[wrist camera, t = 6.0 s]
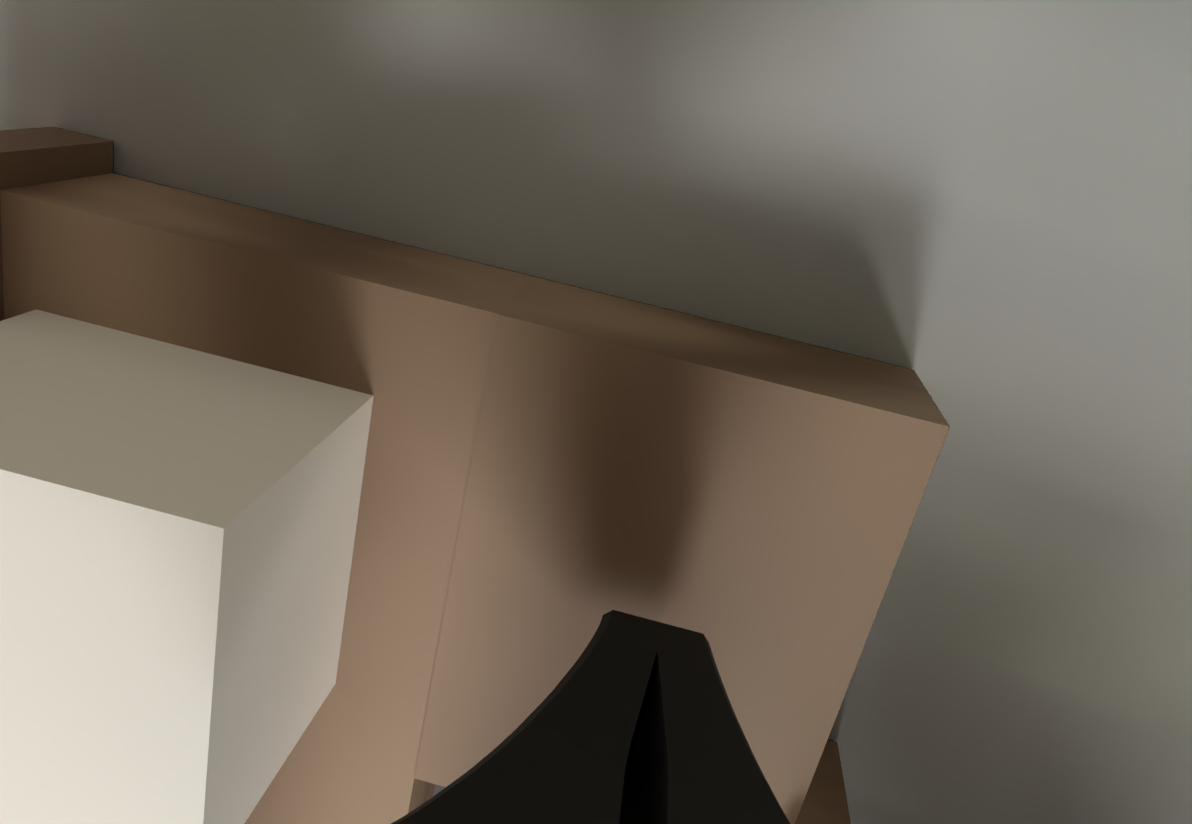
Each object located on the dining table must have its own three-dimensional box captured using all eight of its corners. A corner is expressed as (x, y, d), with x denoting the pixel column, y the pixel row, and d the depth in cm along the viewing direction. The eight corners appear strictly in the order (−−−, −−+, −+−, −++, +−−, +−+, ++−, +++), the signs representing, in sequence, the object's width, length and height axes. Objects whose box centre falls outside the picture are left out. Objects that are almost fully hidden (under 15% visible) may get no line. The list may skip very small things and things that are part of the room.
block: (373, 395, 13) (223, 528, 9) (335, 683, 14) (198, 894, 11) (36, 309, 13) (-248, 404, 9) (41, 603, 15) (-195, 781, 11)
